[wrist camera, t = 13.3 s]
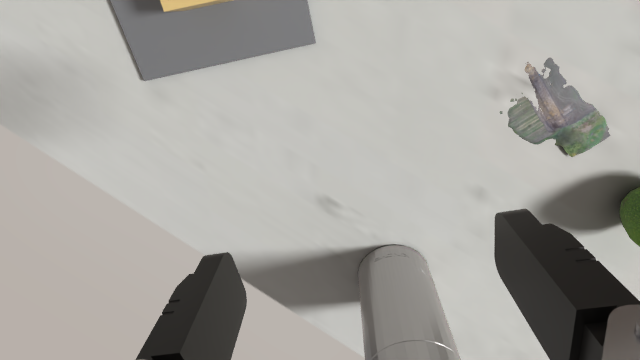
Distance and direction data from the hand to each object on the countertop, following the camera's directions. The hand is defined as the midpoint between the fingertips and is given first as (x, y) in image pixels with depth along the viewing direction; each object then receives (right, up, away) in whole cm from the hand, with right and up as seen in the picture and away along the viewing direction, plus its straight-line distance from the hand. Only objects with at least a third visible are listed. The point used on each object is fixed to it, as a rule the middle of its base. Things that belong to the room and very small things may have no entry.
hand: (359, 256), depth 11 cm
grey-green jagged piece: (+20, +12, +25) cm, 34 cm away
